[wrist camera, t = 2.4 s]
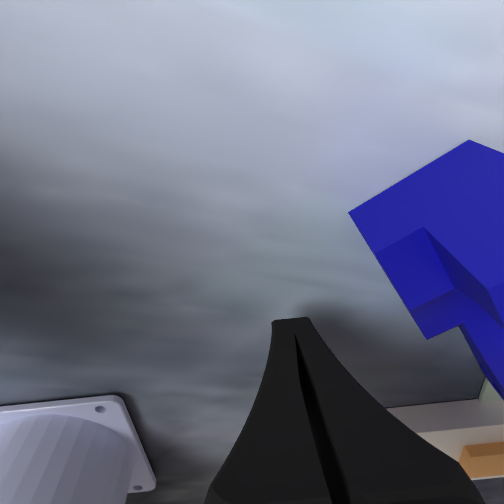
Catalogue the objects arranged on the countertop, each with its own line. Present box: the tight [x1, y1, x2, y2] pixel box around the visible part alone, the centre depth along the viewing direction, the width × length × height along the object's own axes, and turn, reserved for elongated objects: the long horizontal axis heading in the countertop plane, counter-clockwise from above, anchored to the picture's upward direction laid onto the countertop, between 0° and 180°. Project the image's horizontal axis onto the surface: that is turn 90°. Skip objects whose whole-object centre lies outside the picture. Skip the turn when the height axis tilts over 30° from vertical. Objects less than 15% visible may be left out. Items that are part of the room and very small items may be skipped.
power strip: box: [386, 399, 504, 480], centre depth 19 cm, size 14×5×2 cm, turn 95°
